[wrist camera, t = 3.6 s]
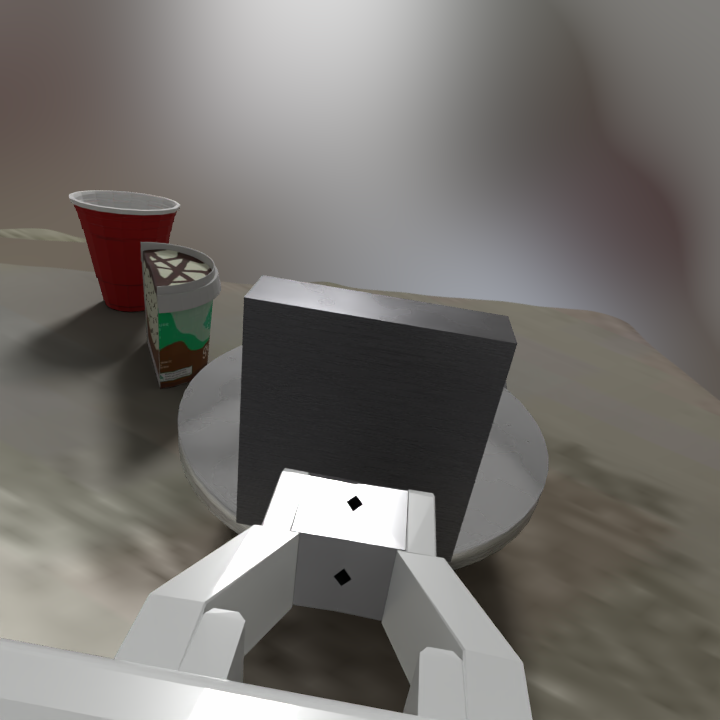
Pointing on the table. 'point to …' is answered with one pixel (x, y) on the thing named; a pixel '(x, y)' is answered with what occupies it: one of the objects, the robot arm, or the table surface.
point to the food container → (178, 309)
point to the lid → (367, 411)
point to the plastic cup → (122, 239)
